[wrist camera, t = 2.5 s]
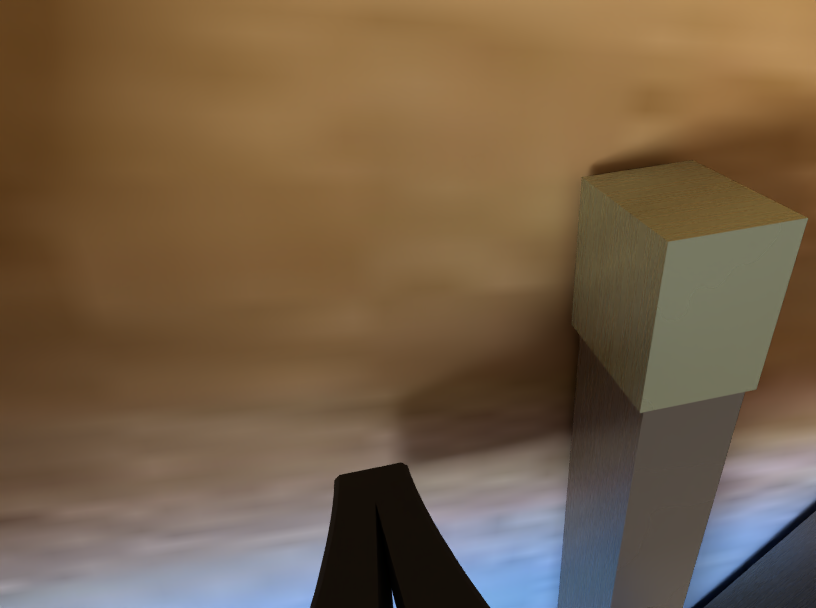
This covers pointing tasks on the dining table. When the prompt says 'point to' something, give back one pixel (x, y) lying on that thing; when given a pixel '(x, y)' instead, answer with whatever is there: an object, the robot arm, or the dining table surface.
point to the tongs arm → (662, 369)
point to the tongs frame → (778, 575)
